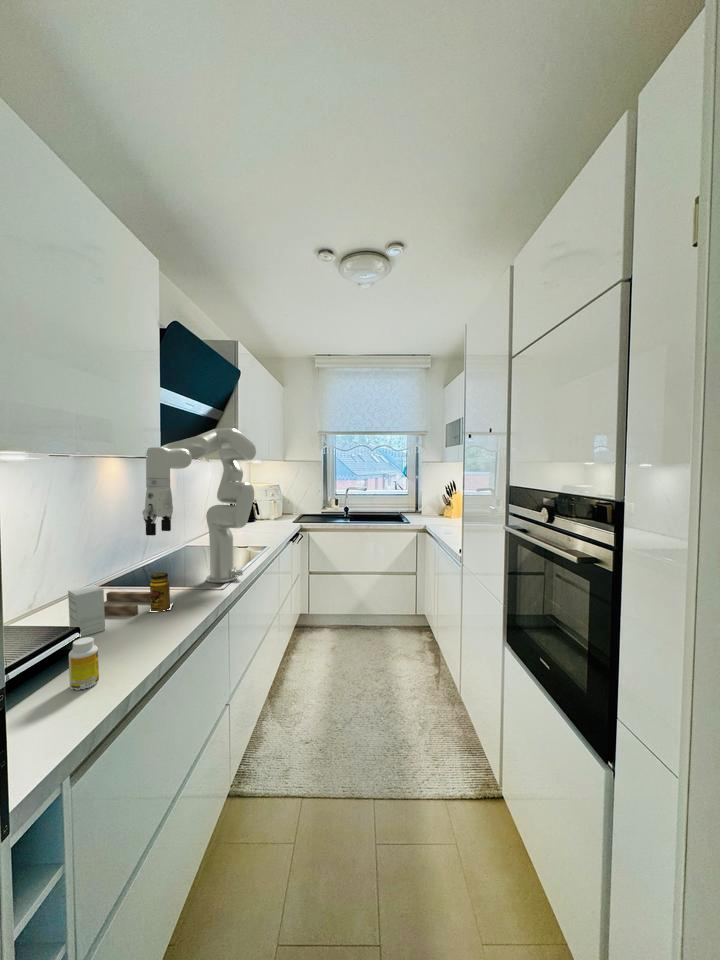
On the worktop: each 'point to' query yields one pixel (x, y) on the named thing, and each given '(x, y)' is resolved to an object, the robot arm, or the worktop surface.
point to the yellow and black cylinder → (159, 592)
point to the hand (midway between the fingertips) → (158, 533)
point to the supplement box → (87, 609)
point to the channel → (125, 608)
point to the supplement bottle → (83, 664)
